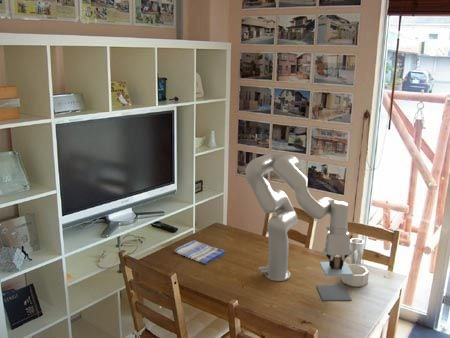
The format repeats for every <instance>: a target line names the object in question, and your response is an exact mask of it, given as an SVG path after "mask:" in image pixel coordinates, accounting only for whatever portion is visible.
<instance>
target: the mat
mask: <svg viewBox="0 0 450 338" xmlns="http://www.w3.org/2000/svg"><path fill="white" fill-rule="evenodd" d="M316 289H317V291H318V293H319V295H320V298H321V301H323V302H328V301H329V302H330V301H331V302H335V301H336V302H340V301H341V302H344V301H345V302H349V301H353V300H352V297H351V296H350V293H349V291H348V290H347V287H346V286H345V284H330V285H329V284H325V285H324V284H320V285H319V284H316Z"/></svg>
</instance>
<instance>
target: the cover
mask: <svg viewBox="0 0 450 338" xmlns="http://www.w3.org/2000/svg"><path fill="white" fill-rule="evenodd" d="M333 260H334V268H333V269H331V267H330V266H329V261H320V262H319V265H320V266H321V269H322V272H323V273H324V276H326V277H341V276H353V273H352V271H351V269H350V268H349V266H348V264H349V263H348V262H347V261H344V262H343V266H342V269H340V255H334V256H333Z"/></svg>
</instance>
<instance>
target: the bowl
mask: <svg viewBox="0 0 450 338" xmlns="http://www.w3.org/2000/svg"><path fill="white" fill-rule="evenodd" d="M347 264H348V266H349V268H350V269H351V271H352V273H353V276H340V279H341V281H342V283H344V285H345V284H346V285H347V286H350V287H358V288H359V287H364V286H365V285H366V284H368V283H369V274H370V271H369V270H368V268H367V267H366V266H363V265H358V264H349V263H347Z"/></svg>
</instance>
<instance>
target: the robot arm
mask: <svg viewBox="0 0 450 338" xmlns="http://www.w3.org/2000/svg"><path fill="white" fill-rule="evenodd" d="M299 165H300V162H299V160H298V158H297V157H296V156H294V155H293V154H288V153H287V154H286V153H283V154H282V153H267V154H264V155H262V156H259V157H256V158H253V159H251V160H250V162H249V163H248V164H247V165H246V167H245V178H246V181H247V182H248V185H249V186H250V188H251V189H252V191H253V194H254V196H255V198H256V200H257V202H258V204H259V206H260V208H261V209H262V211H263V212H264V214H265V213H266V214H273V213H275V212H276V213H275V214H274V215H272V216H271V217H270V218H269V219H268V222H267V232H268V254H267V255H268V256H267V257H268V258H267V259H268V263H267V264H266V265H265V266H258V272H260V271H261V273H264V276H265V277H266V278H267V279H268V280H270V281H274V282H284V281H287V280H289V279H290V278H291V272H290V270H289V269H288V267H289V265H288V264H289V243H290V242H289V237H288V231H289V230H291V229H293V228H294V227H295V226H296V225H297V223H298V215H297V213H296V211H295V209H294V206H293V204H292V201H291V200H290V199H289V197H288V195H287V194H286V193H285V191H283V190H282V189H278V188H277V189H273V188H272V186H271V184H270V182H269V181H268V180H267V179H266V178H265V177H264V175H266V174H269V173H271V172H274V173H275V174H276V175H277V176H278V177H279V178H280V179H281V180H282V181H283V182H284V183H285V185H287V186H288V187H289V188H290V189H291V190H292V191H293V192H294V196H295V198H296V201H297V203H298V204H299V206H300V207H301V208H302V210H303V211H304V212H305V213H306V214H307V215H308V216H310V217H311V218H312V219H314V220H322V219H323V218H325V217H326V216H328V215H330V217H329V225H328V226H326V228H325V229H326V231H327V235H326V238H325V245H324V248H323V250H322V252H321V254H322V255H323V256H324V257H326V258H328V260H329V261H328V262H329V266H330V267H331V269H333V268H334V260H333V256H340V269H342V266H343V262H345V260H346V259H347V258H348V257H350V256H349V255H351V254H352V252H351V250H350V240H351V239H350V232H349V231H348V228H349V227H348V224H349V211H350V209H349V208H350V207H349V206H350V205H349V203H348V202H346V201H342V200H335V199H333V198H331V197H327V196H326V197H325V196H323V197H320V199H317V200H316V199H315V198H314V197H313V196H312V195H311V194H310V191H309V189H308V181H309V179H308V177H307V175H305V174H303V173H302V171H301V170H299V167H300V166H299Z"/></svg>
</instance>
